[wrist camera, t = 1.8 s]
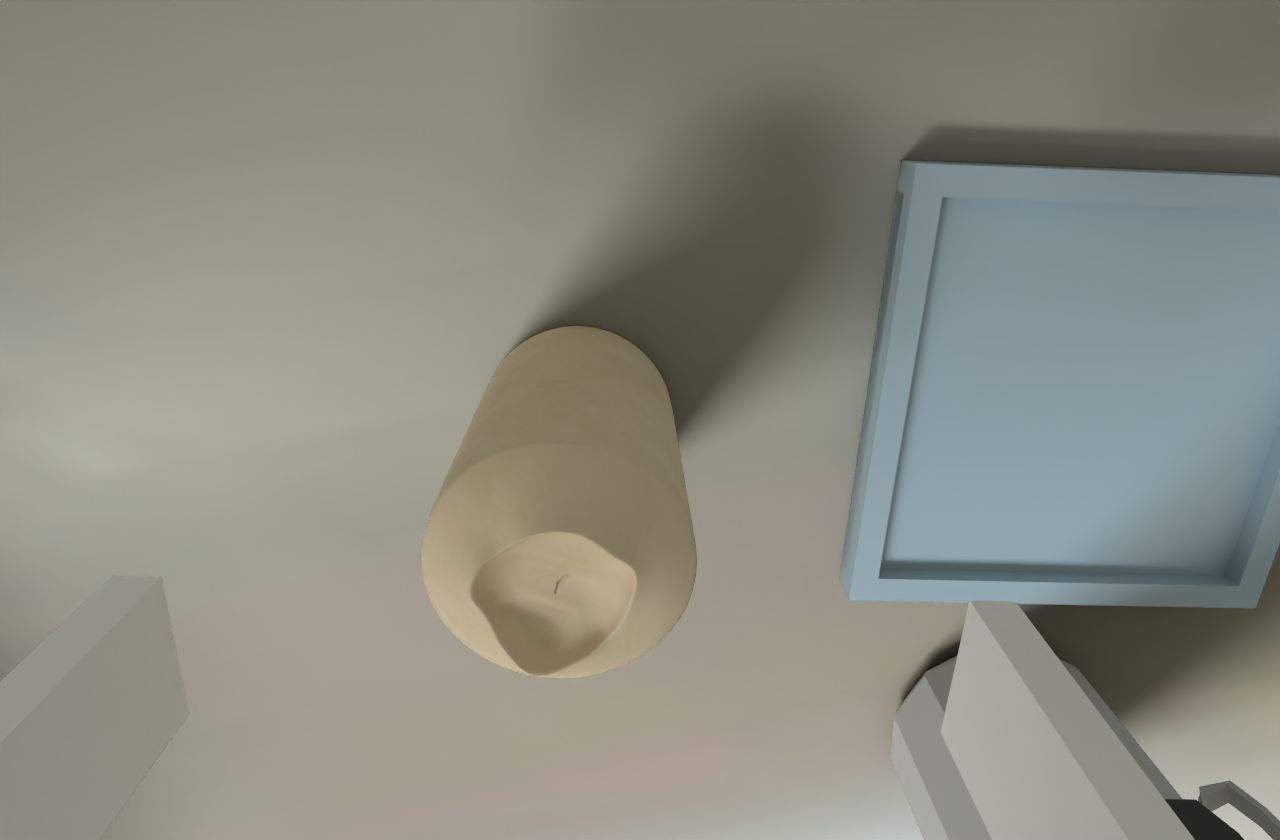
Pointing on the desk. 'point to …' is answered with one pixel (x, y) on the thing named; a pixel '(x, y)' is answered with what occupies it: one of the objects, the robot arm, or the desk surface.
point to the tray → (1072, 390)
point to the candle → (564, 511)
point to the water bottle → (940, 787)
